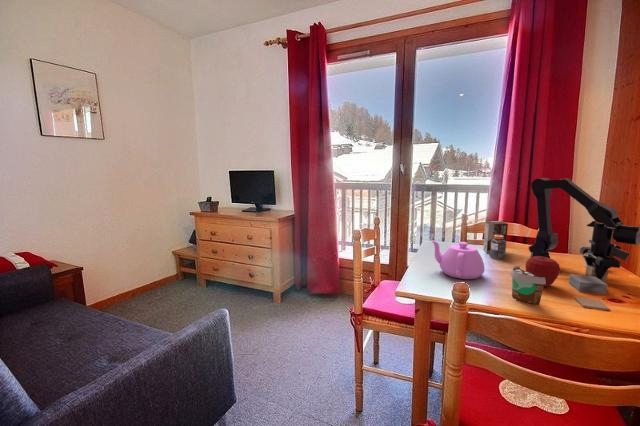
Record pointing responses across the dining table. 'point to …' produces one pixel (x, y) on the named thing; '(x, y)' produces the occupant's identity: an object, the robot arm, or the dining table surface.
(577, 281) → the grey flat block
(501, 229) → the coffee box
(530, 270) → the apple
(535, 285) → the food container
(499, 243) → the pill bottle
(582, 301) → the tile
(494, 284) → the dining table surface
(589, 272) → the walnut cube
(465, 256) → the pink pot
